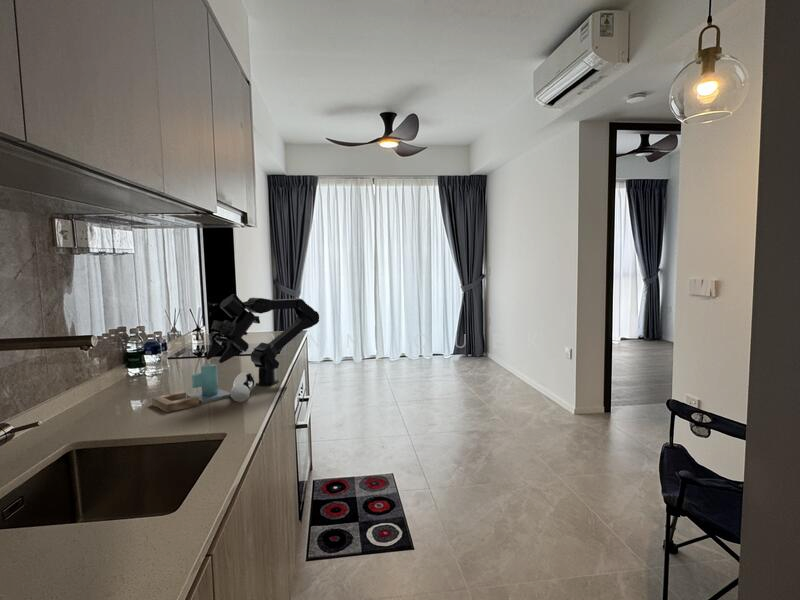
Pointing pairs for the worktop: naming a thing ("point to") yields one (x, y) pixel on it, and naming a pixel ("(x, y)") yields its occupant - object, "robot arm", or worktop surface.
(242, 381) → the beer glass
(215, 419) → the worktop surface
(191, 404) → the bracket
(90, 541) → the worktop surface
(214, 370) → the teal gourd with tab
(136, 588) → the worktop surface
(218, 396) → the coaster
